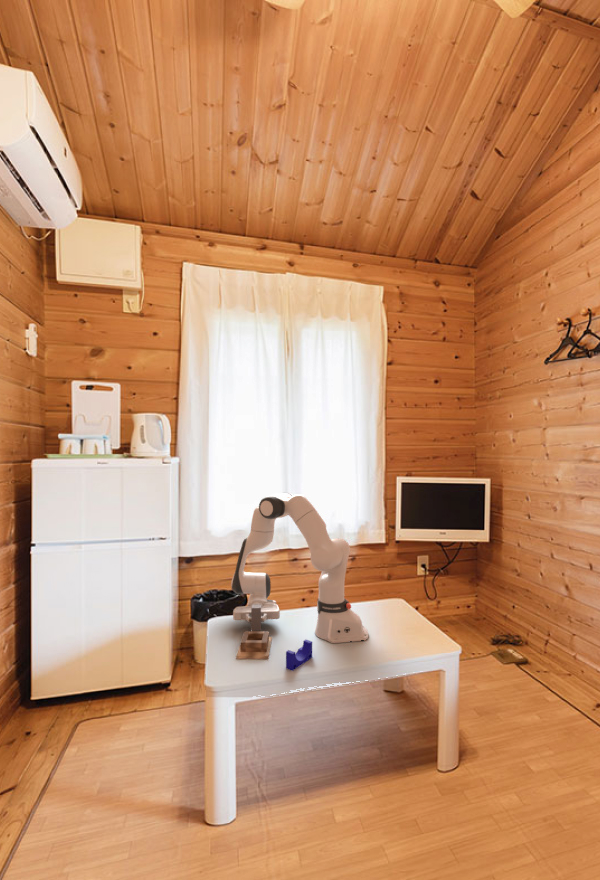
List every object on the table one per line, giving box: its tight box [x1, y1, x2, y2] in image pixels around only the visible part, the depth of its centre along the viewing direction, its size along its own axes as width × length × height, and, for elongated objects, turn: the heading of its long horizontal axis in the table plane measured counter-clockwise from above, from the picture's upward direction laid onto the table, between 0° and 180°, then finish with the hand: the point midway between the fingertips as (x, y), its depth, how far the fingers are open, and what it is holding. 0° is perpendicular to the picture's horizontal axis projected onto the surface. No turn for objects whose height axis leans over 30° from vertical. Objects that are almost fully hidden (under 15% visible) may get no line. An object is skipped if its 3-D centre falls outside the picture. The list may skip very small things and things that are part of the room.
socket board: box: [235, 630, 273, 660], centre depth 158 cm, size 12×16×4 cm
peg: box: [250, 604, 262, 631], centre depth 170 cm, size 4×4×12 cm
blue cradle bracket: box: [285, 639, 313, 672], centre depth 147 cm, size 12×4×6 cm, turn 143°
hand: (256, 620), depth 169 cm, fingers closed on peg, 4 cm apart
